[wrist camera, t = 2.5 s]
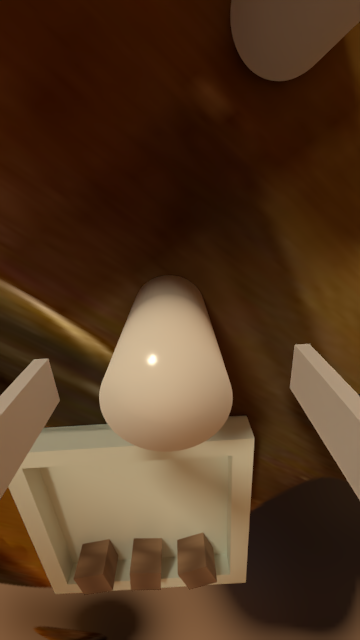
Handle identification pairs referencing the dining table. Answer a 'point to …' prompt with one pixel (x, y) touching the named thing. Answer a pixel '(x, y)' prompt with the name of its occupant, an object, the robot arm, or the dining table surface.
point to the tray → (135, 499)
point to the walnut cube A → (96, 567)
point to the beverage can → (289, 33)
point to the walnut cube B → (146, 564)
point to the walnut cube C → (196, 561)
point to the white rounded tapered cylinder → (166, 371)
